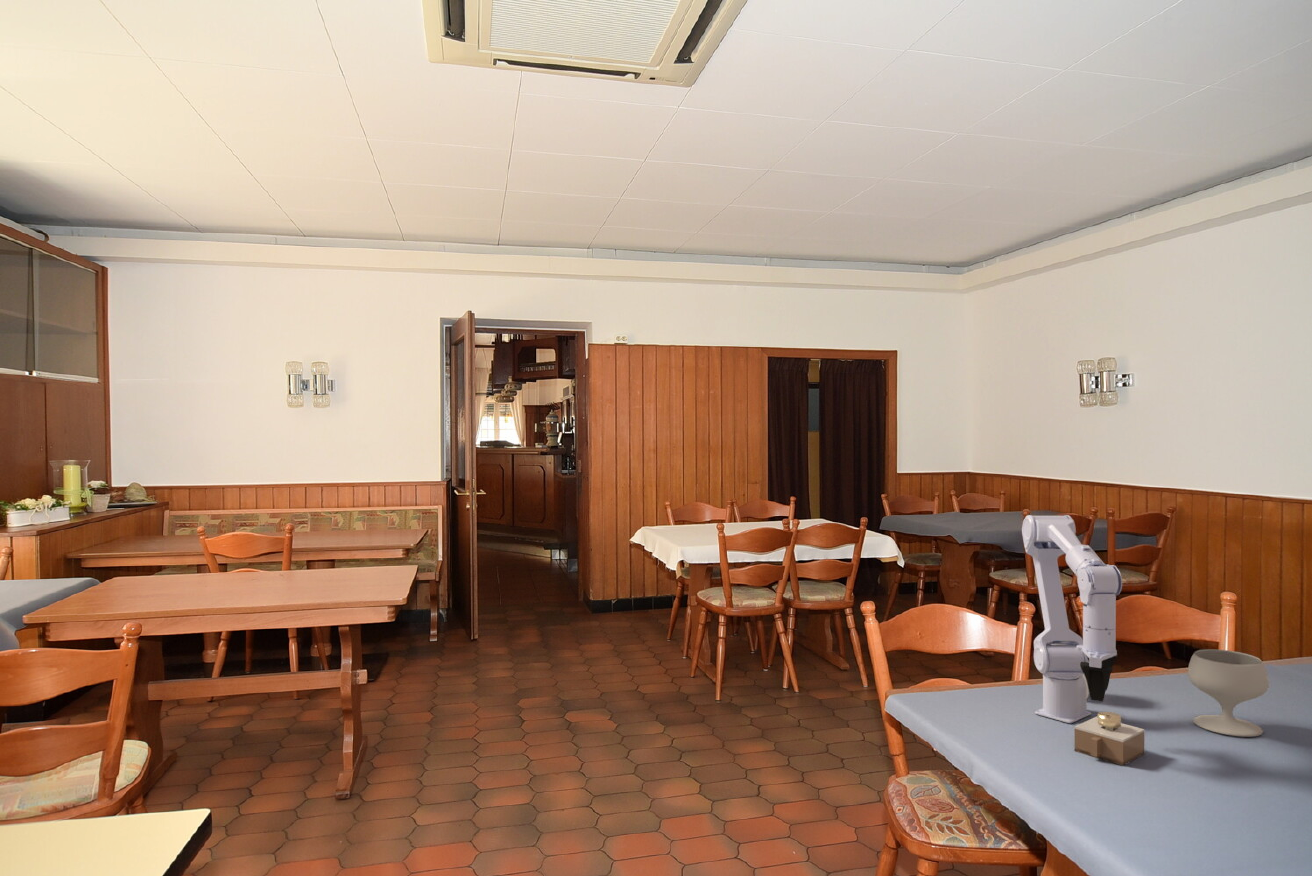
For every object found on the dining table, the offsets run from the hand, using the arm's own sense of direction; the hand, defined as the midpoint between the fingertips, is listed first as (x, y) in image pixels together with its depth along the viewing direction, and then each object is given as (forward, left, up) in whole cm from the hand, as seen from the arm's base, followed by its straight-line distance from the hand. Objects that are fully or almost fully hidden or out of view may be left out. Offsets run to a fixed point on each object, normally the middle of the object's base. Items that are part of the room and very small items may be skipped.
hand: (1099, 694), depth 163 cm
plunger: (+2, +3, -9) cm, 10 cm away
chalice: (-31, +12, -11) cm, 35 cm away
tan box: (+2, +3, -10) cm, 11 cm away
